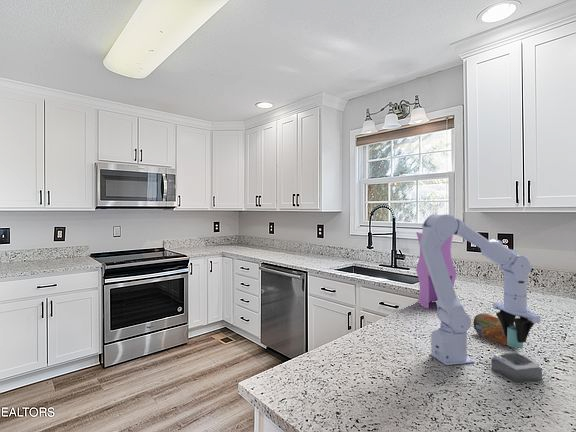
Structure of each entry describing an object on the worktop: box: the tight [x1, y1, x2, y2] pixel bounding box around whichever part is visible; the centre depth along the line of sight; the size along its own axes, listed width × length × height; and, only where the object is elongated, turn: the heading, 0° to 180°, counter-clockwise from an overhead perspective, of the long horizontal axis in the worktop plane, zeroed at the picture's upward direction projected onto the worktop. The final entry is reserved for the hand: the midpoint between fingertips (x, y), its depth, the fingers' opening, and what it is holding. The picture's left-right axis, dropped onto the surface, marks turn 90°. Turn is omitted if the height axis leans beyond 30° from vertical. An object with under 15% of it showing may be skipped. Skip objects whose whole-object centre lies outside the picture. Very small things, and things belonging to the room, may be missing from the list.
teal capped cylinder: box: [506, 323, 524, 349], centre depth 98 cm, size 4×4×6 cm
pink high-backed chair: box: [415, 231, 457, 309], centre depth 157 cm, size 14×14×35 cm
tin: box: [472, 313, 508, 346], centre depth 113 cm, size 15×3×8 cm, turn 21°
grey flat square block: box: [491, 351, 543, 384], centre depth 89 cm, size 8×8×4 cm
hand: (515, 339), depth 98 cm, fingers closed on teal capped cylinder, 4 cm apart
